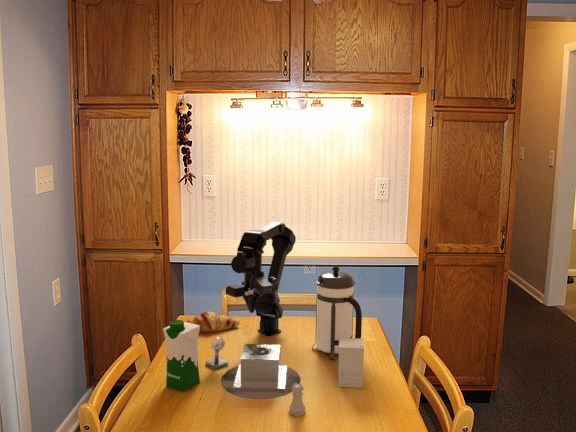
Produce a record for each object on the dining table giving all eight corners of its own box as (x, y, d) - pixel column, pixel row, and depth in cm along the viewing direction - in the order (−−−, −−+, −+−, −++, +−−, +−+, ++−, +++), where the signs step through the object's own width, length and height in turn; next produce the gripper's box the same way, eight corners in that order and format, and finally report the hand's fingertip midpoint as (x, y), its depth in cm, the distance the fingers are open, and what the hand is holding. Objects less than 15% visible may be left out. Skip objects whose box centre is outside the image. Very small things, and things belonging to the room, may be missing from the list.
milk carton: (161, 386, 162) (159, 322, 159) (182, 374, 170) (180, 312, 166) (184, 394, 158) (182, 328, 154) (204, 382, 165) (203, 318, 162)
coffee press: (307, 359, 182) (308, 271, 176) (316, 340, 197) (317, 259, 192) (359, 365, 178) (363, 275, 172) (365, 346, 193) (368, 262, 188)
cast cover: (239, 368, 174) (239, 340, 173) (286, 369, 174) (287, 341, 172) (232, 391, 160) (232, 361, 158) (284, 392, 159) (285, 362, 158)
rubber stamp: (218, 360, 180) (218, 332, 178) (227, 365, 177) (227, 336, 175) (205, 364, 177) (205, 336, 175) (215, 370, 173) (214, 341, 171)
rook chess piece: (288, 408, 151) (288, 381, 149) (304, 408, 151) (304, 380, 150) (289, 417, 146) (289, 389, 145) (306, 416, 147) (306, 388, 145)
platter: (265, 356, 184) (265, 355, 184) (317, 381, 167) (317, 380, 167) (205, 378, 168) (205, 377, 168) (255, 408, 150) (255, 408, 150)
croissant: (238, 332, 213) (237, 312, 215) (241, 329, 203) (240, 308, 206) (182, 335, 208) (182, 314, 211) (182, 332, 199) (182, 310, 201)
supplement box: (362, 377, 170) (363, 338, 167) (362, 388, 162) (364, 348, 160) (337, 375, 170) (338, 337, 168) (337, 387, 163) (338, 346, 161)
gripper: (245, 275, 176) (243, 323, 178) (289, 269, 188) (287, 313, 190) (225, 269, 184) (224, 314, 186) (268, 263, 196) (267, 306, 198)
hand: (251, 312), depth 190 cm, fingers closed
